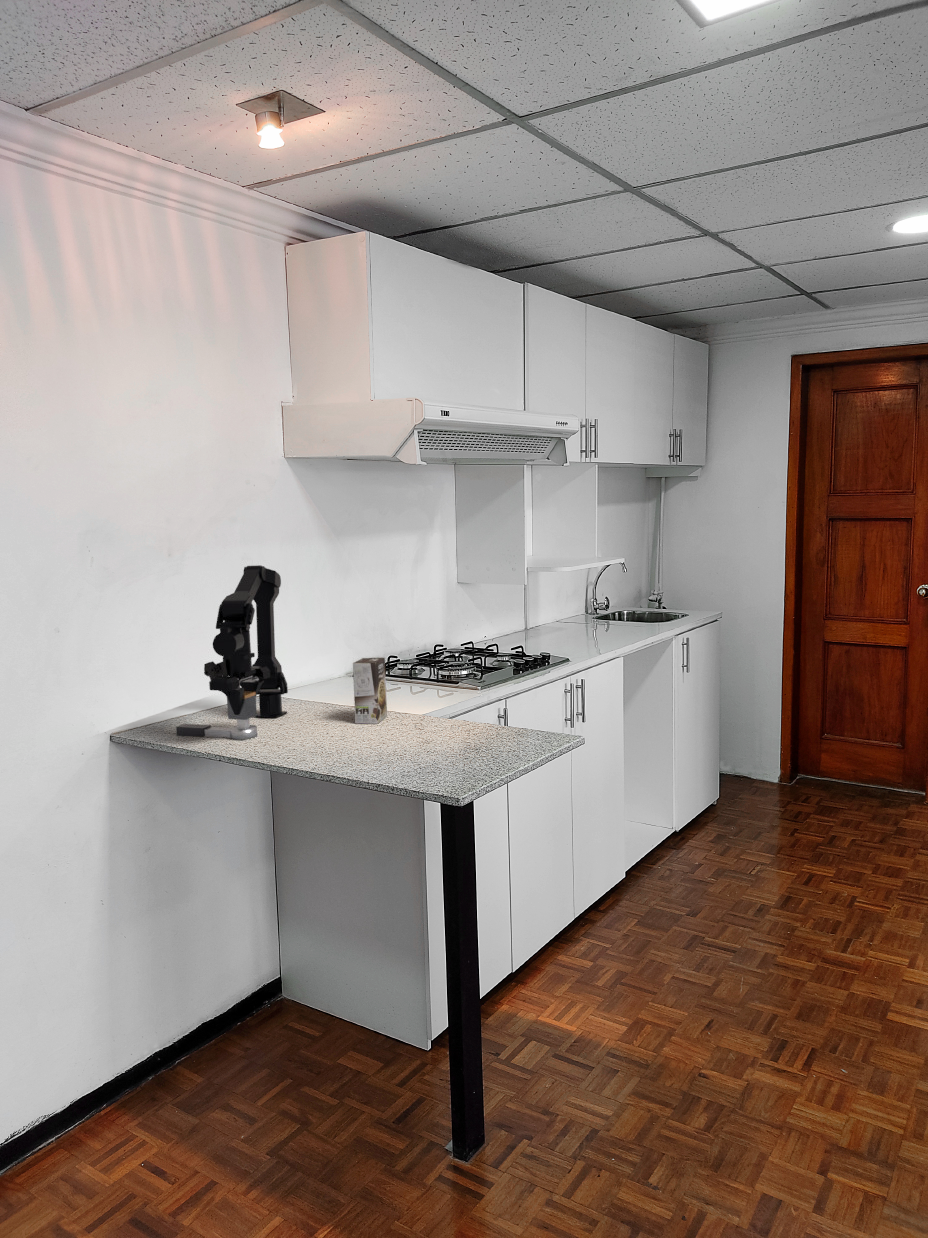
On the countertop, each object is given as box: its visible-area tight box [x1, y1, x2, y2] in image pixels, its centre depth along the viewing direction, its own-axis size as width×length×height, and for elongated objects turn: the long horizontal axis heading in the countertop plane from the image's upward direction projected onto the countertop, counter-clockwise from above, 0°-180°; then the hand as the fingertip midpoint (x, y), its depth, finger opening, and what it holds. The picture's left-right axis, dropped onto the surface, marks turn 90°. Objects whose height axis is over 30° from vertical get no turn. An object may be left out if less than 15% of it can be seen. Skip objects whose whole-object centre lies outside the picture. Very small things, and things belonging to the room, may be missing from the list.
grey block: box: [226, 691, 258, 720], centre depth 229 cm, size 5×5×6 cm
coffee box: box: [352, 657, 388, 725], centre depth 243 cm, size 9×6×16 cm
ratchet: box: [175, 718, 258, 741], centre depth 232 cm, size 6×22×5 cm, turn 71°
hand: (242, 712), depth 229 cm, fingers closed on grey block, 5 cm apart
